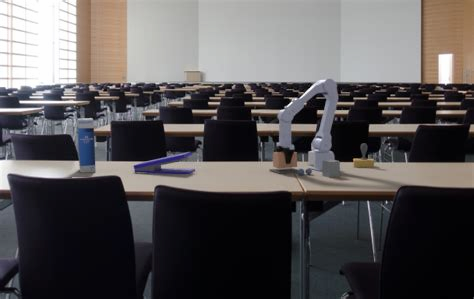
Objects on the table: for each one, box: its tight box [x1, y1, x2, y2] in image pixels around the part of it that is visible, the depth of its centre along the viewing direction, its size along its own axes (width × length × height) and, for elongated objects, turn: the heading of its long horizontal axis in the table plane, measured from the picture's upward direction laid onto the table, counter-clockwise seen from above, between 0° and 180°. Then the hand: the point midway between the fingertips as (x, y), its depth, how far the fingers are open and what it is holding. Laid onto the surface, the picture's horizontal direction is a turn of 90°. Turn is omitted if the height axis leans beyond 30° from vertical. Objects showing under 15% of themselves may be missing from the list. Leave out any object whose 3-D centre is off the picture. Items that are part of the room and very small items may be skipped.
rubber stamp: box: [352, 143, 375, 168], centre depth 268 cm, size 10×6×12 cm, turn 79°
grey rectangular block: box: [321, 159, 341, 178], centre depth 241 cm, size 6×6×7 cm
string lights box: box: [76, 117, 97, 174], centre depth 262 cm, size 13×8×26 cm, turn 18°
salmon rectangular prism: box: [272, 151, 298, 169], centre depth 254 cm, size 10×6×7 cm, turn 112°
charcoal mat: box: [269, 167, 299, 175], centre depth 255 cm, size 12×10×1 cm
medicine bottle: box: [307, 145, 314, 167], centre depth 275 cm, size 7×7×12 cm
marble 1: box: [297, 168, 305, 176], centre depth 245 cm, size 3×3×3 cm
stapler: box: [133, 151, 196, 175], centre depth 258 cm, size 12×28×10 cm, turn 77°
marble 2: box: [304, 167, 313, 175], centre depth 246 cm, size 3×3×3 cm
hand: (285, 162), depth 255 cm, fingers closed on salmon rectangular prism, 6 cm apart
